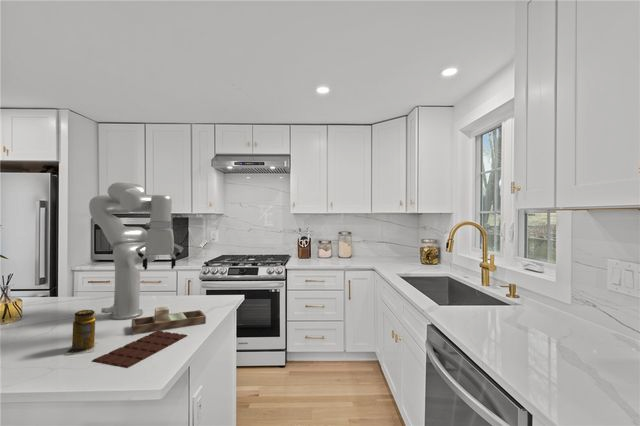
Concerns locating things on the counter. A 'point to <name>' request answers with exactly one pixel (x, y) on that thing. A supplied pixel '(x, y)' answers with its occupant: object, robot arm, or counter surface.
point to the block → (161, 313)
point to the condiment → (83, 333)
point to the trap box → (168, 322)
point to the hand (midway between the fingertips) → (159, 268)
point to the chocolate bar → (139, 349)
